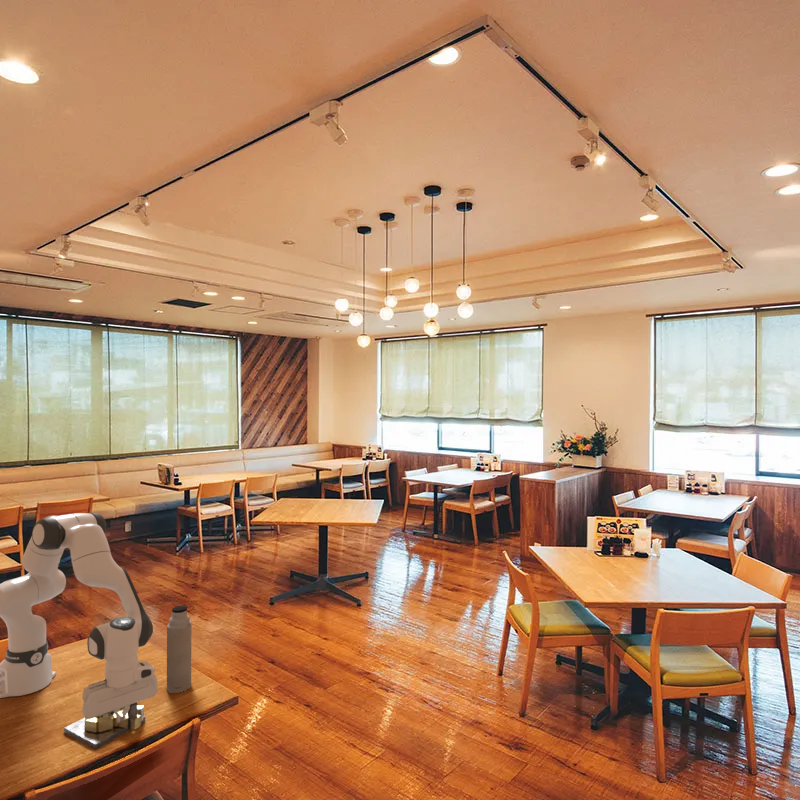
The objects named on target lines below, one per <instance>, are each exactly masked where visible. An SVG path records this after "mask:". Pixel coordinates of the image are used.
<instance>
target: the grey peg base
mask: <svg viewBox="0 0 800 800" xmlns="http://www.w3.org/2000/svg"><path fill="white" fill-rule="evenodd" d="M108 713H109V716H112V715H113V714H114V712H113V711H111V712H108ZM108 713H105V714H108ZM127 713H128V712H127ZM144 714H145V705H143V704H142V705H137V715H141V725H142V724H143V723H146V716H145V715H144ZM103 715H104V714H103ZM103 715H100V716H97V718H103ZM131 730H132V729H128V728H123V727H118V726H117V727H116V728H115V727H113V729H110V730H106V731H102V732H99V731H98V732H91V731H86V729H85V717H82V718H81V719H79V720H76V721H75V722H73V723H71V724H69V725H67V726H64V728H63V733H64V735H65V734H66V735H67V736H69V737H72V738H73V739H75V740H77V741H79V742H81V743H83V744H84V745H85V746H86V745H87V746H88V747H90V748H91V749H94V750H97V749H99V748H101V747H103V746H104V745H106V744H108V743H110V742H112V741H114V740H115V739H117V738H119V737H120V736H122V735H124V734H126V733H127V732H130V731H131Z"/></svg>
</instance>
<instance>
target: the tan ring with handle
mask: <svg viewBox="0 0 800 800" xmlns="http://www.w3.org/2000/svg"><path fill="white" fill-rule="evenodd" d="M137 706H138V702H136V703H134V704H131V705H130V709H129V710H128V713H127V714H126V720H125V721H122V722H119V723H117V721H116V715H115V713H114V714H113V715H112V716H109V713H108V714H104V715H103V718H97V717H94V718H91V719H87V718H85V717H84V718H85V729H86V731H91V732H98V731H99V732H102V731H106V730H110V729H113V727H115V728H116V727H117V726H118V727H123V728H128V729H131V730H136V729H138V728H139V727H140V726H141V725H142V724H141V715H137ZM123 709H124V707H122V708H120V711H119V712H118V714H121V713H122V711H123Z"/></svg>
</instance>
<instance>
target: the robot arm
mask: <svg viewBox="0 0 800 800" xmlns="http://www.w3.org/2000/svg"><path fill="white" fill-rule="evenodd" d="M106 530H107V522H106V519H105V518H104V516H103V515H102V514H101V513H97V512H91V511H90V512H87V513H86V512H74V513H68V514H61V515H48V516H46V517H44V518H41V519H39V520H37V521H36V522H35V524H34V526H33V528H32V531H31V537H30V539H29V542H28V544H27V546H26V548H25V551H24V553H23V556H22V558H21V564H22V567H23V569H24V570H25V571H26V572H27V574H24V575H21V576H19V577H16V578H12V579H8V580H5V581H3V582H2V583H0V619H2V621H3V622H4V623H5V625H6V628H7V639H8V644H7V645H8V647H6V648H5V657H4V659H3V660H2V661H1V662H0V699H3V698H8V697H20V696H26V695H29V694H32V693H35V692H38V691H40V690H42V689H44V688H46V687H47V686H49V685H50V684H51V683H52V681H53V678H54V677H56V675H57V673H56V671H54V670H53V664H52V663H53V662H52V655H51V654H50V653H49V652H48V651H49V649H48V648H49V644H48V640H47V622H46V620H45V618H44V617H43V616H40V615H38V614H33V611H32V608H33V606H36V605H39V604H42V603H44V602H47V601H50V600H51V599H53V598H55V597H57V596H58V595H60V594H62V593H63V591H65V588H66V585H67V579H66V575H65V574H64V572H63V571H62V570H60V569H59V563H60V561H61V558H62V556H63V554H64V551H65V549H69V552H70V559H71V565H72V570H73V574H74V576H75V578H76V580H77V581H79V582H80V583H81V584H83V585H85V586H88V587H91V588H92V587H93V588H103V589H107V590H112V591H114V592H115V593H116V595H117V596H118V597H119V599H120V602H121V604H122V607H123V608H124V610H125V613H126V616H119V617H115V618H113V619H112V620H110V621H109V622H107V623H102V624H99V625H97V626H94V628H92V630H91V631H90V632H89V634H88V637H87V645H86V646H87V652H88V653H89V655H90V656H92V657H93V658H96V659H99V660H104V661H105V668H104V669H105V670H104V679H103V680H100V681H97V682H94V683H91V684H89V685H88V686H86V687H85V688H84V689H83V691H82V701H83V703H82V715H83V718H87V719H91V718H94V717H97V716H100V715H103V714H105V713H108V712H111V711H113V712H114V713H115V715H116V721H117V723H119V722H122V721H125V720H126V714H127V712H128V710H129V709H130V705H131V704H134V703H136V702H137V703H140V702H142V701H144V700H148V699H150V698H153V697H155V696H156V695H157V693H158V692H159V688H158V687H159V685H158V684H159V683H158V677H157V676H156V675H155V672H156V669H155V667H154V666H153V665H152V664H151V663H150V662H149V661H147V660H144V661H143V660H141V661H140V660H139V658H138V652H139V648H140V647H144V646H146V644H147V643H148V642H149V641H150V639H151V637H152V635H153V633H154V625H153V623H152V620H151V618H150V616H149V615H148V613H147V612H146V610H145V607H143V604H142V602H141V599H140V597H139V594H138V593H137V589H136V588H135V586H134V583H133V581H132V579H131V577H130V574H129V573H128V571H127V570H126V568H125V567H123V566H119V565H118V564H117V562H116V561H115V560H114V558H113V556H112V552H111V548H110V544H109V542H108V538H107V535H106ZM122 707H124V709H123V711H122V713H121V714H118V712H119V711H120V708H122Z"/></svg>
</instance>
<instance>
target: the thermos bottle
mask: <svg viewBox="0 0 800 800" xmlns="http://www.w3.org/2000/svg"><path fill="white" fill-rule="evenodd" d="M187 610H188V606H186V605H177V606H174V607H172V608H171V616H170V617H169V619H168V624H167V625H166V690H167V692H168V693H170V694H181V693H184V692H186V691H188V690H189V689H190V688H191V687H192V621H191V620H190V618H191V617H190V615H189V614H188V613H187V612H188V611H187ZM187 689H188V690H187ZM183 691H184V692H183ZM180 692H181V693H180Z"/></svg>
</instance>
